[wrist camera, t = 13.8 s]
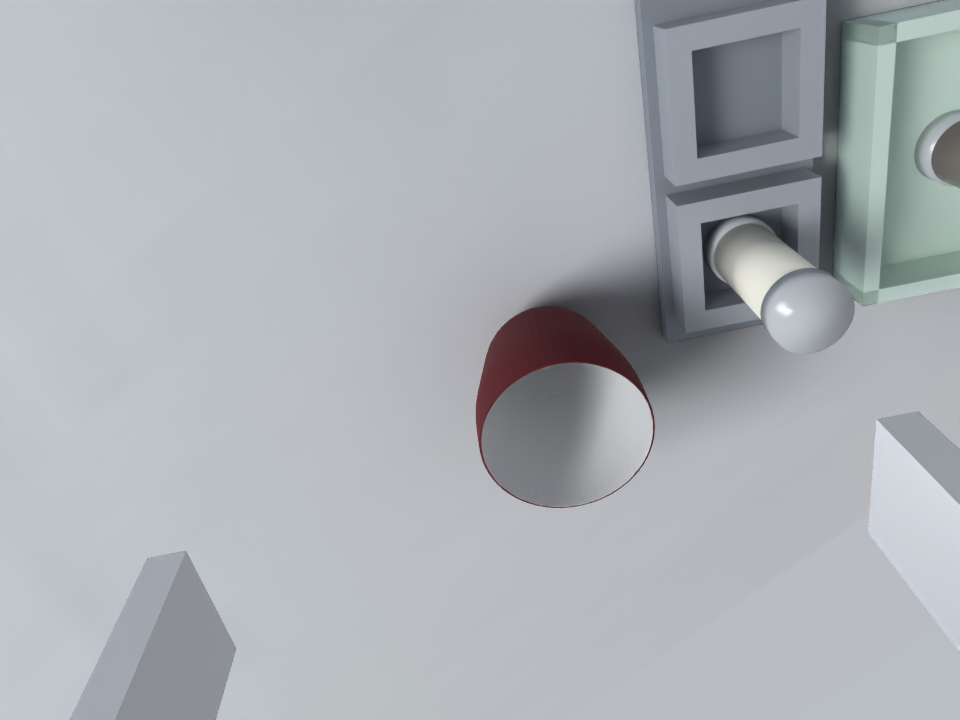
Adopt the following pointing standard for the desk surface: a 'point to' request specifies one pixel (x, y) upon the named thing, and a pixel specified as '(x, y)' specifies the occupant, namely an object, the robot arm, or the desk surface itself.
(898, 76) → the tray
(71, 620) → the desk surface
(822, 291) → the fuse
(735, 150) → the block
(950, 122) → the fuse
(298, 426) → the desk surface
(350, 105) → the desk surface
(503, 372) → the mug
